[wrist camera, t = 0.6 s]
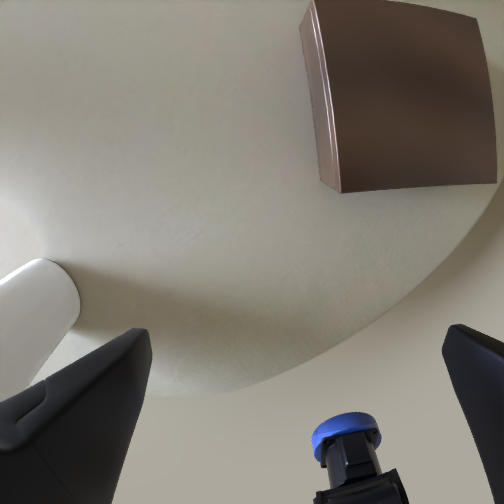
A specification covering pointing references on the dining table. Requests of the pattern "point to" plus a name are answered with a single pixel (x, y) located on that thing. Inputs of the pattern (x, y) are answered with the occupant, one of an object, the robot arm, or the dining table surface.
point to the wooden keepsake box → (398, 96)
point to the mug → (33, 321)
